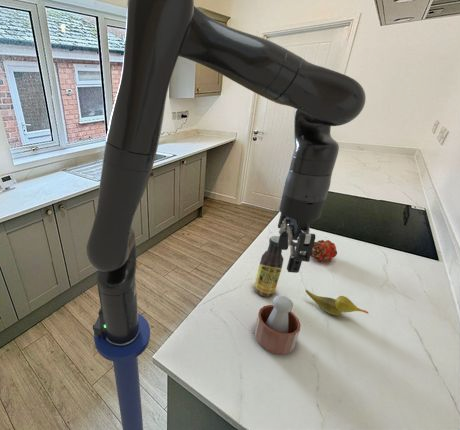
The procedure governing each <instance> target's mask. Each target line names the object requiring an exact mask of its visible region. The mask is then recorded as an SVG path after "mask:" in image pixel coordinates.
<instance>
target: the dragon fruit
mask: <svg viewBox="0 0 460 430" xmlns="http://www.w3.org/2000/svg"><path fill="white" fill-rule="evenodd" d="M337 255H338V251H337V246H336V244H335V243H334V242H332V241H330V239H326V240H325V239H319V240H317V241H314V245H313V249H312V252H311V256H310V257H312V258H313V259H314V260H315V261H317V262H322V261H324V262H327V263H330V262H331V261H332V259H333V258H335V257H337Z"/></svg>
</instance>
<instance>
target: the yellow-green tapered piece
mask: <svg viewBox="0 0 460 430" xmlns="http://www.w3.org/2000/svg"><path fill="white" fill-rule="evenodd" d="M304 290H305V293H306V294H307V295H308V296H309V298H311V300H312V301H313V302H314V303H315V304H316V305H317V306H318V307H319V308H320V309H322V310H323V311H324V312H326V313H327V314H329V315H331V316H340V315H342V313H352V312H362V313H365V314H370V313H369V311H367V310H365V309H362V308H359V307H358V306H356V305H355V304H354V303H353V301H352V300H351V299H349V298H348V297H347V296H345V295H339V296H338V297H336V298H333V297H327V296H319V295H316V294H314V293H312V292H311V291H309V290H308V289H304Z"/></svg>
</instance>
